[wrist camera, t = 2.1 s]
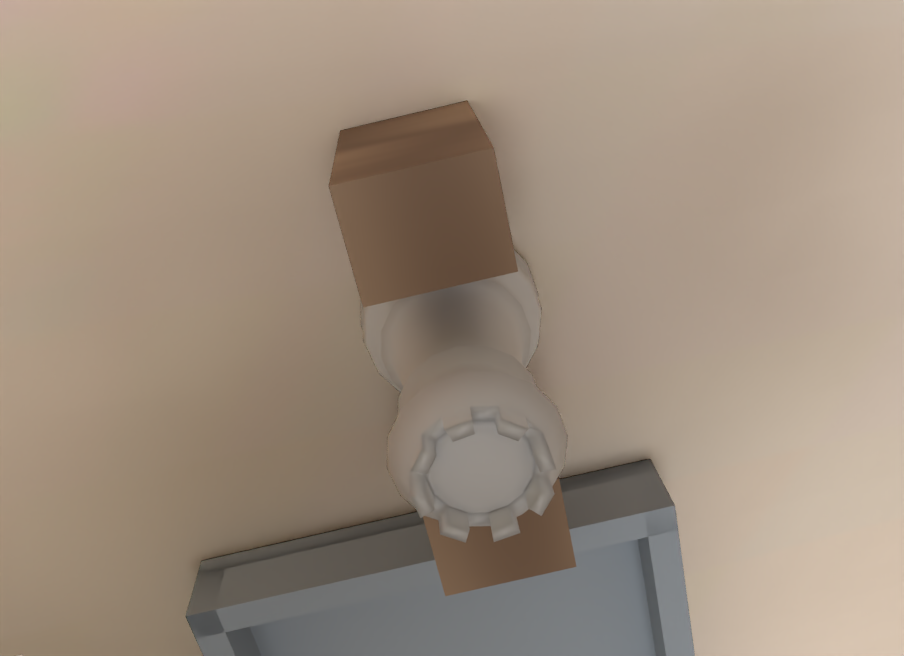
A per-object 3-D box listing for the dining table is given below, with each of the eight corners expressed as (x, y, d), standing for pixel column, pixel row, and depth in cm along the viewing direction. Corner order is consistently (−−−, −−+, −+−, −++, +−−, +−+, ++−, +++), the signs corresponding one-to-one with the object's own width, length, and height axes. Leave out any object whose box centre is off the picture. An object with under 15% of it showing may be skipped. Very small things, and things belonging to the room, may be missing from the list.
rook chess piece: (426, 181, 21) (453, 313, 13) (570, 280, 22) (667, 449, 15) (325, 324, 22) (298, 516, 15) (466, 410, 23) (508, 624, 16)
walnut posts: (432, 471, 24) (445, 596, 19) (340, 130, 20) (329, 186, 15) (538, 447, 24) (576, 567, 19) (467, 100, 20) (493, 148, 15)
